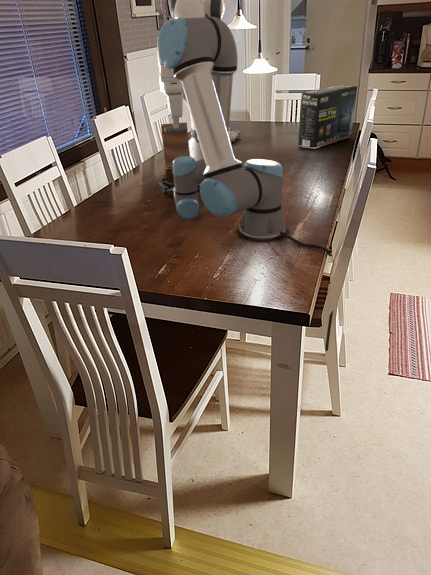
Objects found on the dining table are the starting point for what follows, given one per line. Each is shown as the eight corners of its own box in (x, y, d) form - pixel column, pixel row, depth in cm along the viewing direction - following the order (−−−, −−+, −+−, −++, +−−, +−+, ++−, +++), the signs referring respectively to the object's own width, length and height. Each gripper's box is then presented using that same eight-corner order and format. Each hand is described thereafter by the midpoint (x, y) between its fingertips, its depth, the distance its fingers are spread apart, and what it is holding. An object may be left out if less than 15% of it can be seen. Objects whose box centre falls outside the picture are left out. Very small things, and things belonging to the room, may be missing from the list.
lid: (160, 124, 173) (161, 121, 164) (186, 122, 174) (188, 119, 166) (165, 167, 176) (166, 166, 168) (190, 165, 178) (192, 164, 169)
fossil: (231, 138, 245) (212, 120, 248) (221, 154, 251) (202, 137, 255) (247, 136, 258) (229, 120, 262) (237, 152, 265) (220, 136, 268)
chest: (165, 184, 195) (162, 158, 189) (188, 182, 196) (186, 156, 190) (168, 196, 182) (165, 169, 176) (192, 194, 183) (190, 167, 178)
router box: (314, 151, 231) (318, 94, 217) (296, 148, 237) (299, 92, 224) (352, 138, 251) (358, 85, 238) (335, 135, 258) (340, 83, 245)
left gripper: (161, 83, 167) (165, 123, 174) (165, 88, 150) (169, 132, 156) (179, 82, 168) (181, 121, 175) (184, 87, 150) (187, 131, 157)
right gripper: (153, 208, 164) (151, 188, 183) (215, 202, 167) (206, 183, 186) (151, 187, 160) (148, 169, 179) (214, 182, 163) (205, 165, 182)
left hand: (175, 127), depth 165 cm, fingers open, 3 cm apart
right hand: (178, 176), depth 182 cm, fingers closed on chest, 10 cm apart
